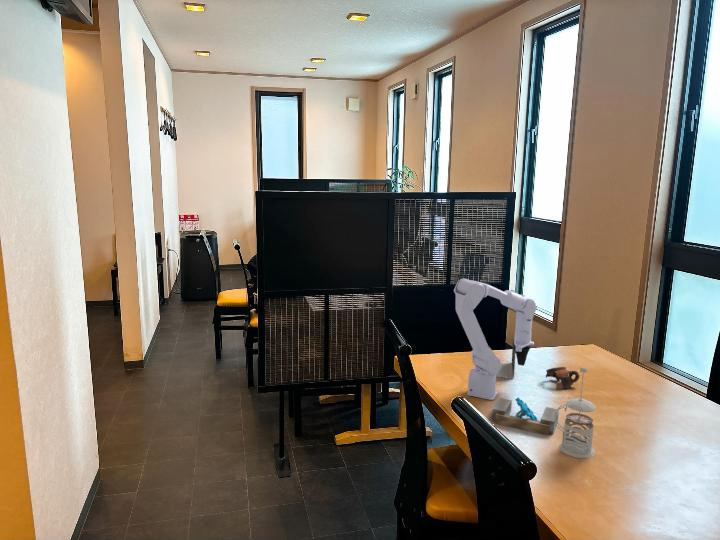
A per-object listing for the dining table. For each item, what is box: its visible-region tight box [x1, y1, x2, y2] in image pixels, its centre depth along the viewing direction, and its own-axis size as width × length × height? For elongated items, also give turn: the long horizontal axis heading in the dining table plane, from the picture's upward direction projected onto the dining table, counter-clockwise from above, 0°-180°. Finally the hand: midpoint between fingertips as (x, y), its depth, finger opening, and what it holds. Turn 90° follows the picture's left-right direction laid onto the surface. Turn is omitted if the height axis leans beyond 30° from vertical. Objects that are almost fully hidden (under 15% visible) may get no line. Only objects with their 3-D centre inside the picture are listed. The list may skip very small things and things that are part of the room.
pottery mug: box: [545, 366, 580, 390], centre depth 200 cm, size 12×10×8 cm
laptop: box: [496, 334, 516, 380], centre depth 215 cm, size 18×12×13 cm
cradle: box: [491, 397, 560, 436], centre depth 169 cm, size 19×12×4 cm, turn 62°
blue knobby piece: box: [515, 397, 540, 422], centre depth 169 cm, size 11×6×10 cm
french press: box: [554, 366, 597, 459], centre depth 150 cm, size 10×12×25 cm
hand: (521, 364), depth 194 cm, fingers closed
